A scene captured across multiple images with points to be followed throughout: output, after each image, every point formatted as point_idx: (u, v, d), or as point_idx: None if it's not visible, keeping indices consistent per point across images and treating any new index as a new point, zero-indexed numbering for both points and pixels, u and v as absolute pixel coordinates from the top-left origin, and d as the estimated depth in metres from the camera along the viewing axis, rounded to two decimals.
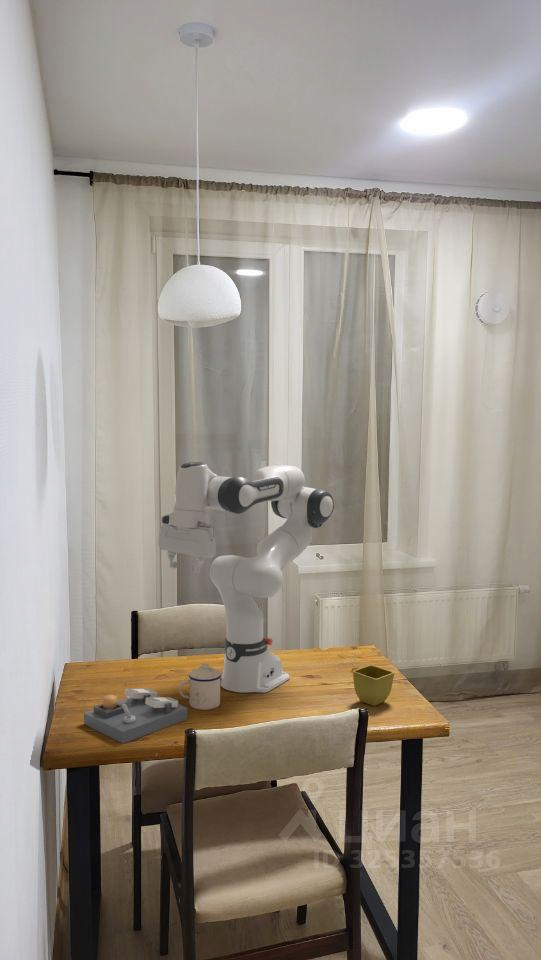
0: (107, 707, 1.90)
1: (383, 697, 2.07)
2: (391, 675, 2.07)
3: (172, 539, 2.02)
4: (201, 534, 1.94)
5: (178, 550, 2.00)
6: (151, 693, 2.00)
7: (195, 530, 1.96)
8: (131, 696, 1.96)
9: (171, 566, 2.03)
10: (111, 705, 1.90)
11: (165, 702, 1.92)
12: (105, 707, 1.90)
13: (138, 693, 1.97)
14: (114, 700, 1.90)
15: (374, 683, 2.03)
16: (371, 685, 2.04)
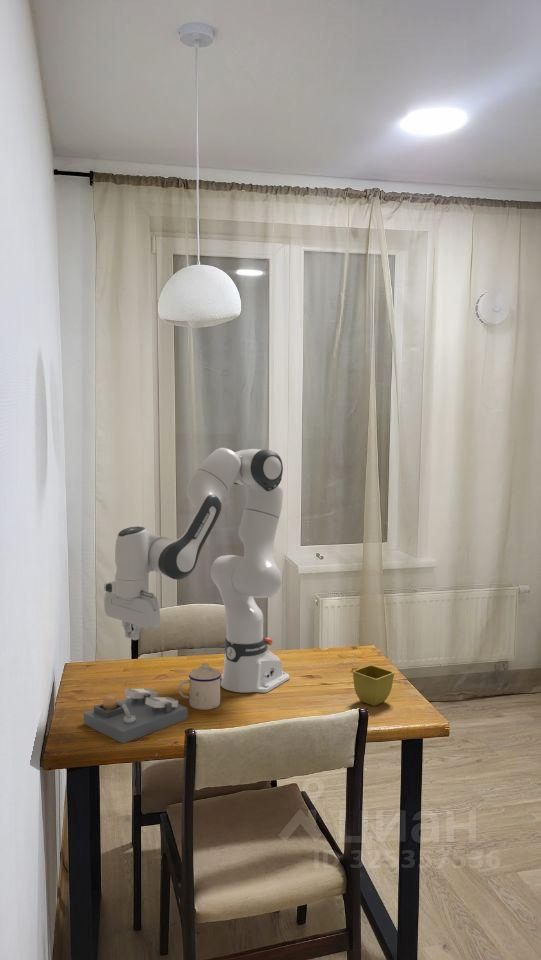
0: (107, 707, 1.90)
1: (383, 697, 2.07)
2: (391, 675, 2.07)
3: (117, 607, 1.97)
4: (144, 605, 1.89)
5: (124, 619, 1.95)
6: (151, 693, 2.00)
7: (138, 600, 1.91)
8: (131, 696, 1.96)
9: (127, 636, 1.96)
10: (111, 705, 1.90)
11: (165, 702, 1.92)
12: (105, 707, 1.90)
13: (138, 693, 1.97)
14: (114, 700, 1.90)
15: (374, 683, 2.03)
16: (371, 685, 2.04)
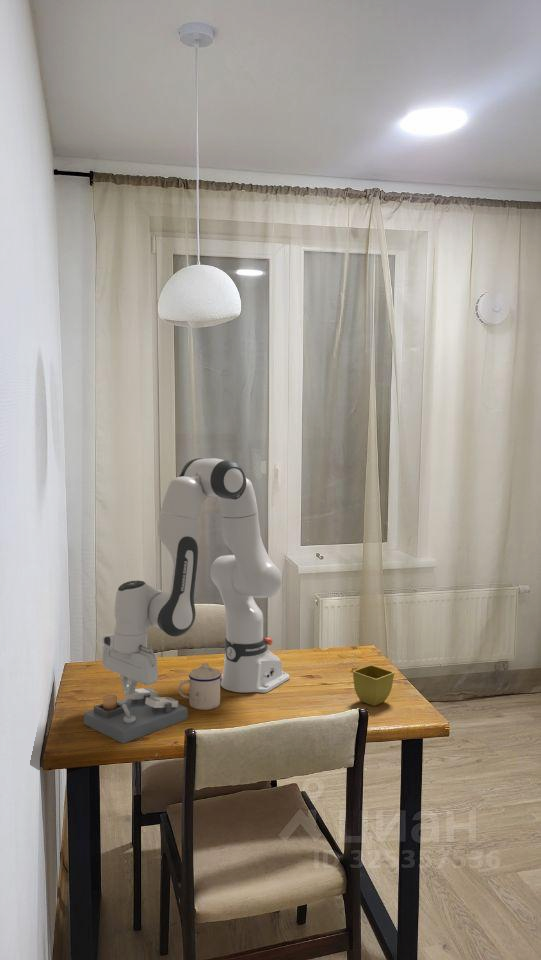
0: (107, 707, 1.90)
1: (383, 697, 2.07)
2: (391, 675, 2.07)
3: (115, 660, 1.98)
4: (142, 661, 1.90)
5: (121, 673, 1.96)
6: (151, 693, 2.00)
7: (136, 655, 1.91)
8: (131, 697, 1.96)
9: (125, 690, 1.96)
10: (111, 705, 1.90)
11: (165, 702, 1.92)
12: (105, 707, 1.90)
13: (138, 694, 1.96)
14: (114, 700, 1.90)
15: (374, 683, 2.03)
16: (371, 685, 2.04)
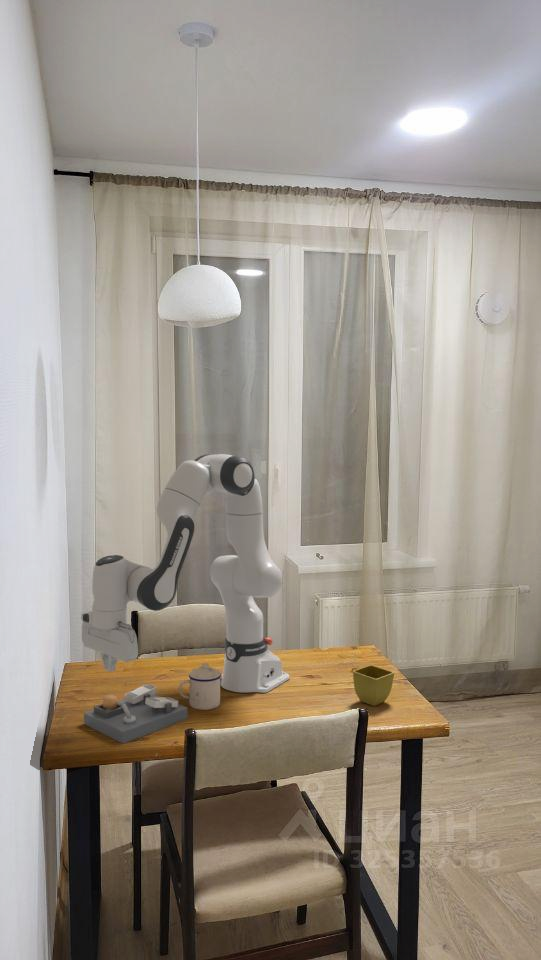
0: (107, 707, 1.90)
1: (383, 697, 2.07)
2: (391, 675, 2.07)
3: (94, 638, 1.92)
4: (121, 637, 1.84)
5: (101, 650, 1.90)
6: (151, 690, 2.00)
7: (115, 632, 1.85)
8: (131, 701, 1.96)
9: (105, 668, 1.91)
10: (111, 705, 1.90)
11: (165, 702, 1.92)
12: (105, 707, 1.90)
13: (137, 697, 1.96)
14: (114, 700, 1.90)
15: (374, 683, 2.03)
16: (371, 685, 2.04)
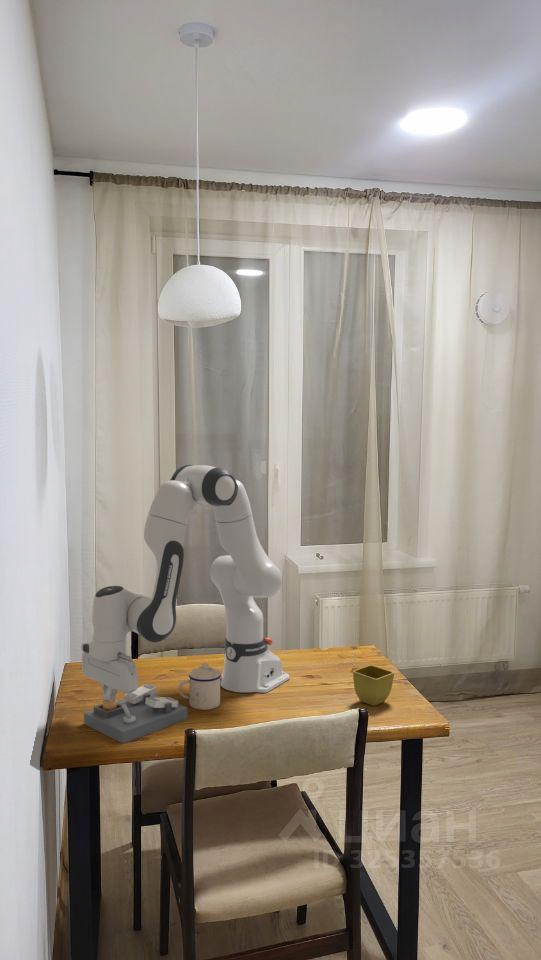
0: (107, 710, 1.90)
1: (383, 697, 2.07)
2: (391, 675, 2.07)
3: (94, 668, 1.92)
4: (121, 668, 1.84)
5: (101, 681, 1.90)
6: (151, 690, 2.00)
7: (115, 663, 1.86)
8: (131, 702, 1.96)
9: (105, 699, 1.91)
10: (111, 708, 1.90)
11: (165, 702, 1.92)
12: None
13: (137, 697, 1.96)
14: (114, 703, 1.90)
15: (374, 683, 2.03)
16: (371, 685, 2.04)
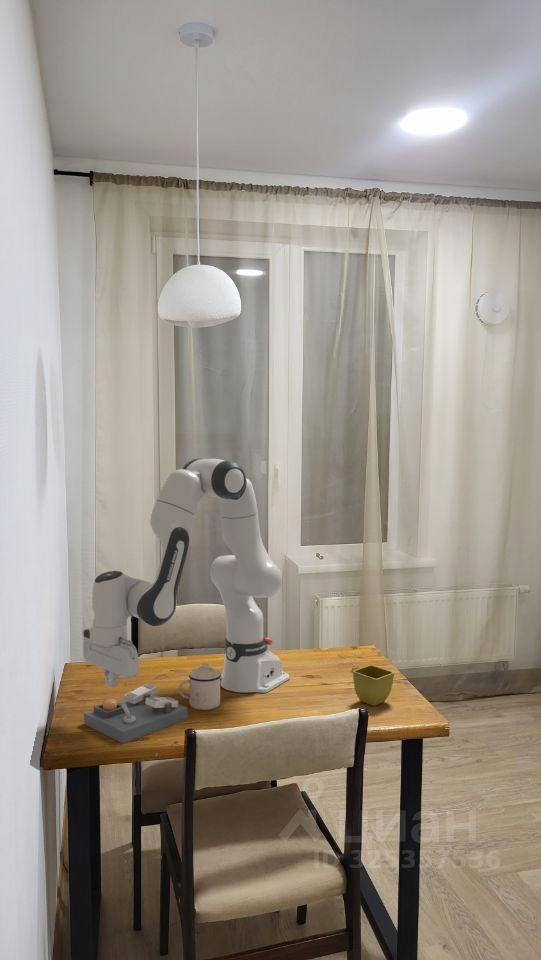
0: None
1: (383, 697, 2.07)
2: (391, 675, 2.07)
3: (95, 653, 1.92)
4: (122, 653, 1.84)
5: (102, 666, 1.90)
6: (151, 690, 2.00)
7: (116, 648, 1.86)
8: (131, 702, 1.96)
9: (107, 683, 1.91)
10: (111, 709, 1.90)
11: (165, 702, 1.92)
12: None
13: (137, 697, 1.96)
14: (114, 704, 1.90)
15: (374, 683, 2.03)
16: (371, 685, 2.04)
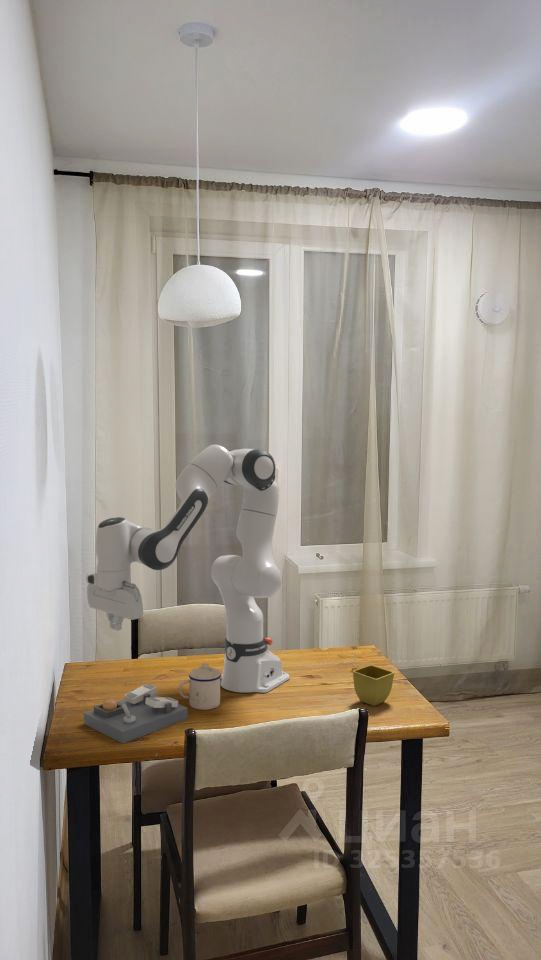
0: None
1: (383, 697, 2.07)
2: (391, 675, 2.07)
3: (100, 599, 1.97)
4: (126, 596, 1.88)
5: (107, 610, 1.95)
6: (151, 690, 2.00)
7: (120, 591, 1.90)
8: (131, 702, 1.96)
9: (111, 627, 1.96)
10: (111, 709, 1.90)
11: (165, 702, 1.92)
12: None
13: (137, 697, 1.96)
14: (114, 704, 1.90)
15: (374, 683, 2.03)
16: (371, 685, 2.04)
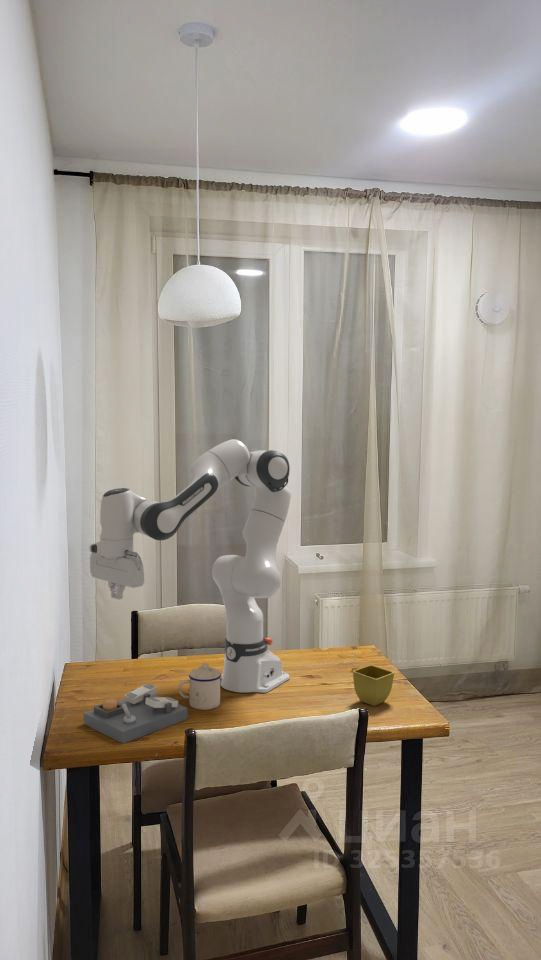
0: None
1: (383, 697, 2.07)
2: (391, 675, 2.07)
3: (102, 568, 2.00)
4: (128, 564, 1.92)
5: (109, 579, 1.98)
6: (151, 690, 2.00)
7: (122, 559, 1.93)
8: (131, 702, 1.96)
9: (112, 596, 1.99)
10: (111, 709, 1.90)
11: (165, 702, 1.92)
12: None
13: (137, 697, 1.96)
14: (114, 704, 1.90)
15: (374, 683, 2.03)
16: (371, 685, 2.04)
